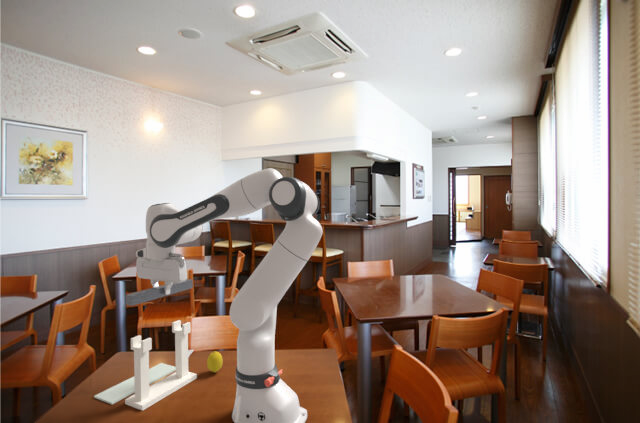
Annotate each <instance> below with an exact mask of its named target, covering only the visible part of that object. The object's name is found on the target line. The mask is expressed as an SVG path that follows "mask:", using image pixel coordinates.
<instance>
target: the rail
mask: <svg viewBox="0 0 640 423" xmlns="http://www.w3.org/2000/svg"><path fill="white" fill-rule="evenodd" d="M193 282H194V280H193V279H190V278H187V279H186V281H184V282H181V283H174V282H173V285H172V287H171V288H170V294H168V295H165V294H163V289H165V287H166V285H165V284H163V285H159V286H158V287H154V288H153V287H152V288H150V287H149V288H146V289H143V290H139V291H135V292H131V293H127V294H125V296H124V297H125V305H127V306H130V307H132V306H136V305H140V304H144V303H147V302H151V301H154V300H157V299H160V298H164V297H167V296H170V295H175V294H177V293H181V292H183V291H184V292H185V291H187V290H191V289H193V287H194V286H193V284H194V283H193Z"/></svg>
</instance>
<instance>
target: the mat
mask: <svg viewBox="0 0 640 423" xmlns="http://www.w3.org/2000/svg"><path fill="white" fill-rule="evenodd" d="M175 372H176V366H174V365H170V364H167V363H164V362H160V363H158V364H156V365H154V366H152V367H149V385H152V384H154V383H156V382H158V381H160V380H162V379H164V378H165V377H167V376H169V375H171V374H173V373H175ZM134 394H135V383H134V376H131V377H129V378H128V379H125V380H123V381H122V382H119V383H118V384H116V385H113V386H111V387H109V388H107V389H104V390H103V391H101V392H99V393H97V394H95V395H93V396H94V397H93V398H94V399H97V400H99V401H102V402H104V403H107V404H110V405H114V404H116V403H118V402H120V401H121V400H124V399H126V398H128V397H130V396H132V395H134Z"/></svg>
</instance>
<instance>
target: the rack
mask: <svg viewBox="0 0 640 423" xmlns="http://www.w3.org/2000/svg"><path fill="white" fill-rule="evenodd" d="M191 327H192V326H191V322H190V321H188V322H185V323H183V324H182V320H180V319H178V320H175V321H173V322H171V332H172V334H174V346H175V349H174V350H175V354H174V355H175V356H174V357H175V359H174V360H175V367H176V371H174V372H172V373H170V374H168V375H167V376H165V377H163V378H161V379H159V380H157V381H155V382H154V383H152V384H149V369H150V351H151V350H152V349H153V348H152V347H153V346H152V342H153V340H152V337H147V338H145V339H143V340H142V335H140V334H138V335H135V336H134V337H131V338H130V351H131V350H132V351H133V372H134V376H133V377H134V383H135V393H133V394H131V395H130V396H128V397H126V398H124V403H125V405H127V406H129V407H131V408H134V409H137V410H141V411H144V410H146V409H148V408H149V407H151V406H152V405H155V404H156V403H157V402H159V401H161V400H163V399H164V398H166V397H168V396H170V395H171V394H173V393H174V392H177V391H178V390H179V389H181V388H183V387H184V386H186V385H188V384H189V383H191V382H193V381H194V380H196V379H198V374H197V373H194V372H191V371H189V357H188V350H189V334H190V333H191V332H192V328H191Z"/></svg>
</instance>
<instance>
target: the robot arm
mask: <svg viewBox="0 0 640 423" xmlns="http://www.w3.org/2000/svg"><path fill="white" fill-rule="evenodd" d="M320 203H321V202H320V198H319V196H318V194H317V193H316V191H315V190H313V189H312V188H311V187H310V186H309V185H308V184H307V183H305V182H303V181H301V180H300V179H298V178H296V177H293V176H283V175H282V174H281V173H280V171H278V170H277V169H275V168H271V167H269V168H264V169H261V170H258V171H255V172H253V173H250V174H248V175H246V176H244V177H241V178H240V179H239V180H237V181H235V182H233V183H232V184H230V185H228V186H226V187H225V188H224V189H222V190H220V191H218V192H217V193H214V194H213V195H211V196H210V197H208V198H206V199H203V200H202V201H200V202H197V203H195V204H193V205H191V206H188V207H187V208H184V209H182V210H181V209H179V208H177V207H176V206H175V205H174V204H172V203H169V202H163V203H156V204H152V205H150V206H149V207H148V208H147V211H146V215H145V233H146V243H145V247H144V248H141V249H138V250H137V251H136V252H135V256H136V257H137V259H136V263H135V264H136V266H135V267H136V268H135V269H136V276H137V277H138V279H145V280H150V284H151V286H152V288H154V287H158V286H160V284H159V282H164V285H166V287H165V289H163V294H165V295H167V296H169V295H168V294H170V288H171V287H172V285H173V282H174V283H181V282H184V281H186V279H188V269H187V264H186V260H185V257H184V255H182V253H176V246H177V245H181V244H186V243H190V242H194V241H196V240H198V239H199V238H200V237H201V235H202V233H203V225H204V224H207V223H209V222H212V221H215V220H221V219H228V218H238V217H243V216H246V215H250V214H253V213H256V212H257V211H260V210H262V209H263V208H265V207H267V206H269V205H272V208H274V210H275V211H276V212H277V214H278V215H279V217H280V219H281V220H282V221H285V222H286V224H285V227H284V229H283V230H282V232H281V233H280V235H279V236H278V237H277V239H276V240H275V242H274V243H273V245H272V246H271V247H270V249H269V250H268V252H267V253H266V255H265V256H264V257H263V259H262V260H261V261H260V262H259V264H258V265H257V267H255V269H254V271H253V272H252V273H251V275H250V276H249V277H248V278H247V280H246V281H245V282H244V283H243V285H242V287H241V288H240V289H239V291H238V292H237V293H236V295H235V296H234V297H233V300H232V302H231V304H230V308H229V319H230V321H231V323H232V324H233V325H234V327H236V328H237V329H239V330H238V335H237V339H236V368H235V382H236V392H235V398H234V399H235V400H234V405H233V410H232V413H231V419H232V422H234V423H306V421H307V419H308V410H307V409H306V408H304V407H302V406H300V401H299V397H298V394H297V393H296V392H295V391H294V390H293V389H292V388H291V387H290V386H289V385H287V383H286V382H285V381H283V379H282V378H281V375H282V374H283V368H282V369H280V370H279V369H278V367H277V364H276V363H275V362H276V361H275V359H276V358H275V357H276V356H275V354H276V353H275V352H276V351H275V341H276V340H275V339H276V338H275V337H276V336H275V335H276V329H277V328H276V326H277V310H278V305H279V303H280V302H281V300H282V299H283V297H284V296H285V294H286V292H288V290H289V289H290V287H291V286H292V284H293V282H294V281H295V280H296V278H297V277H298V275H299V273H300V272H301V271H302V270H303V268H304V267H305V266H306V264H307V262H309V260H310V258H311V257H312V256H313V254H314V252H315V250H316V249H317V246H319V242H320V241H321V238H322V236H323V233H324V232H323V227H322V225H321V223H320V222H319V221H318V220H317V219H316V218H315V216H316V214H317V213H318V211H319V209H320Z"/></svg>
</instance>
